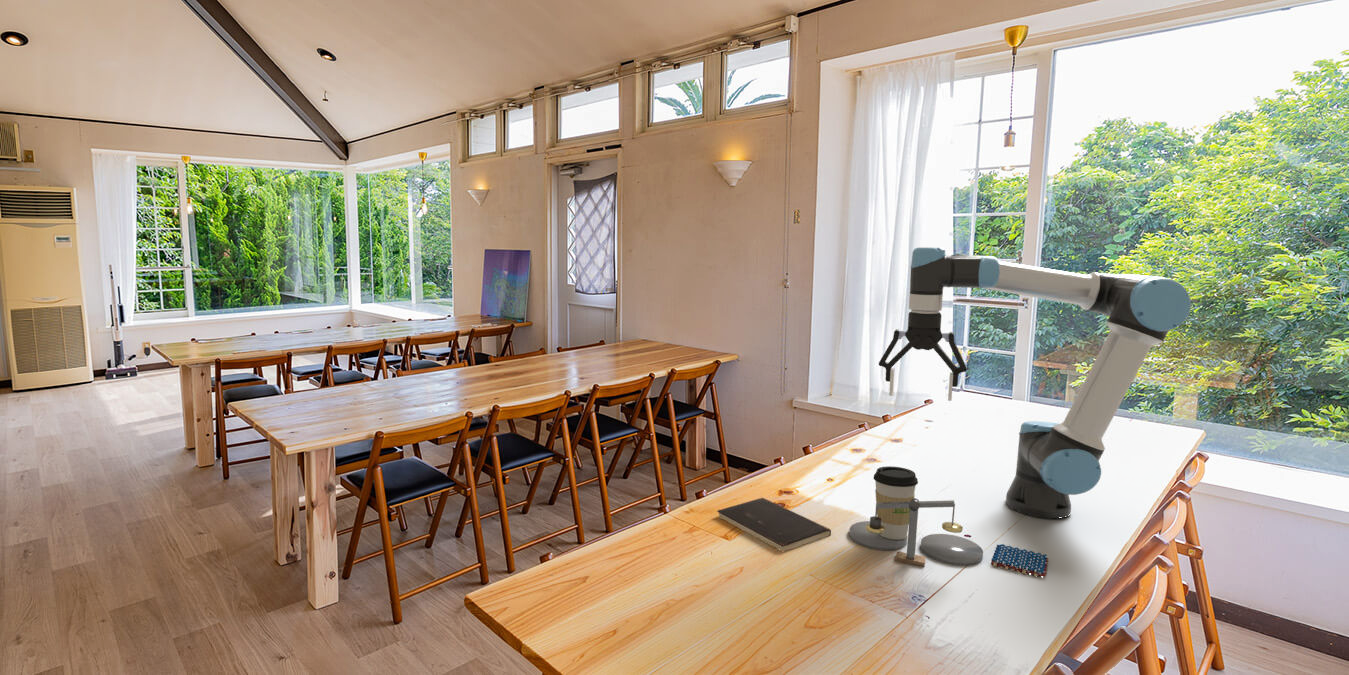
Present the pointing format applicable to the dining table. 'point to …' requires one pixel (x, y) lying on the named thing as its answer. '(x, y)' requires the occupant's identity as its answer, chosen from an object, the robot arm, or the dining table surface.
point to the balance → (912, 526)
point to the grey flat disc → (951, 549)
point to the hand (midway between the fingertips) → (920, 397)
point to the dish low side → (874, 538)
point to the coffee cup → (894, 499)
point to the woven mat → (1020, 560)
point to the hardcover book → (774, 523)
